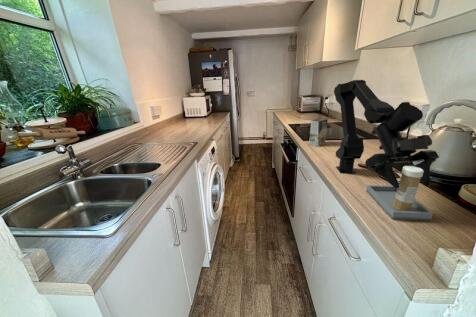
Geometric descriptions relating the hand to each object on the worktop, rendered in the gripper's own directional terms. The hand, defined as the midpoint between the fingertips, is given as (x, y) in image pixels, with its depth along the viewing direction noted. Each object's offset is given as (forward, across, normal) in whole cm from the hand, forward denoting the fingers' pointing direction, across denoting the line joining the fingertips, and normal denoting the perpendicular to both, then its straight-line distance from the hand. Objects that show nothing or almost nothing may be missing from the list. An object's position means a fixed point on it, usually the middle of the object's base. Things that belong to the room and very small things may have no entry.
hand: (412, 186), depth 56 cm
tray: (+3, +1, +10) cm, 10 cm away
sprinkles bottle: (+5, 0, +7) cm, 9 cm away
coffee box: (-46, +7, +59) cm, 75 cm away
